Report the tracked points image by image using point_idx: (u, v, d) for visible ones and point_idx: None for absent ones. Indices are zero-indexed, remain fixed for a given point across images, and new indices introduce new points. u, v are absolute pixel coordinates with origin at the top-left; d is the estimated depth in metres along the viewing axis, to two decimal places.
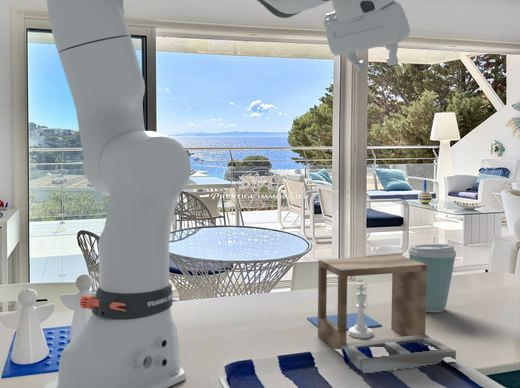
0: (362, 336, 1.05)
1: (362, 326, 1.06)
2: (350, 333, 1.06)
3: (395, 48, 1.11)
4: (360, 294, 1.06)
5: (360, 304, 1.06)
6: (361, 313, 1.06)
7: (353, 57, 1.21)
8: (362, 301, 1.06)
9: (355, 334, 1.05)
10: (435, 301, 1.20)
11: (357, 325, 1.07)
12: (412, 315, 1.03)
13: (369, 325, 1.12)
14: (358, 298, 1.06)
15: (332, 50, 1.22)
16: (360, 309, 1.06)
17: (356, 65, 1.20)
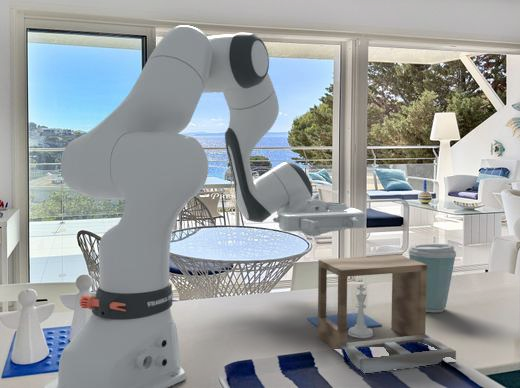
0: (362, 336, 1.05)
1: (362, 326, 1.06)
2: (350, 333, 1.06)
3: None
4: (360, 294, 1.06)
5: (360, 304, 1.06)
6: (361, 313, 1.06)
7: None
8: (362, 301, 1.06)
9: (355, 334, 1.05)
10: (435, 301, 1.20)
11: (357, 325, 1.07)
12: (412, 315, 1.03)
13: (369, 325, 1.12)
14: (358, 298, 1.06)
15: (286, 214, 1.20)
16: (360, 309, 1.06)
17: (313, 221, 1.17)
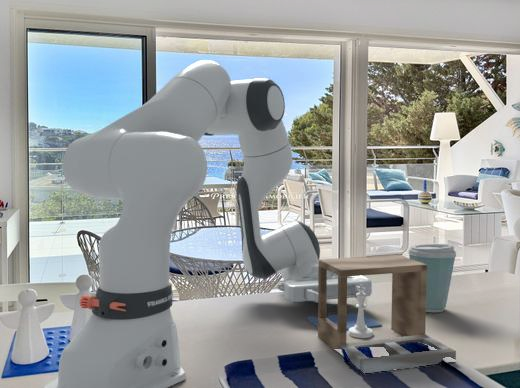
0: (362, 336, 1.05)
1: (362, 326, 1.06)
2: (350, 333, 1.06)
3: None
4: (360, 294, 1.06)
5: (360, 304, 1.06)
6: (361, 313, 1.06)
7: None
8: (362, 301, 1.06)
9: (355, 334, 1.05)
10: (435, 301, 1.20)
11: (357, 325, 1.07)
12: (412, 315, 1.03)
13: (369, 325, 1.12)
14: (358, 298, 1.06)
15: (291, 284, 1.18)
16: (360, 309, 1.06)
17: None
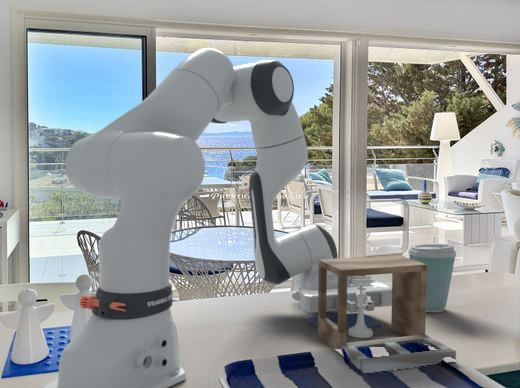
0: (362, 336, 1.05)
1: (362, 326, 1.06)
2: (350, 333, 1.06)
3: None
4: (360, 294, 1.06)
5: (360, 304, 1.06)
6: (361, 313, 1.06)
7: None
8: (362, 301, 1.06)
9: (355, 334, 1.05)
10: (435, 301, 1.20)
11: (357, 325, 1.07)
12: (412, 315, 1.03)
13: (369, 325, 1.12)
14: (358, 298, 1.06)
15: (307, 294, 1.09)
16: (360, 309, 1.06)
17: (352, 302, 1.07)
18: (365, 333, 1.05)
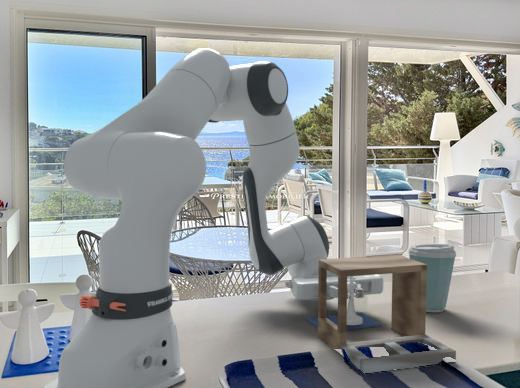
0: (352, 323, 1.09)
1: (352, 314, 1.10)
2: None
3: None
4: (350, 283, 1.10)
5: (350, 293, 1.10)
6: (351, 301, 1.11)
7: None
8: (352, 290, 1.10)
9: None
10: (435, 301, 1.20)
11: (347, 313, 1.11)
12: (412, 315, 1.03)
13: (369, 325, 1.12)
14: (348, 287, 1.10)
15: (300, 282, 1.13)
16: (350, 297, 1.11)
17: None
18: (355, 320, 1.09)
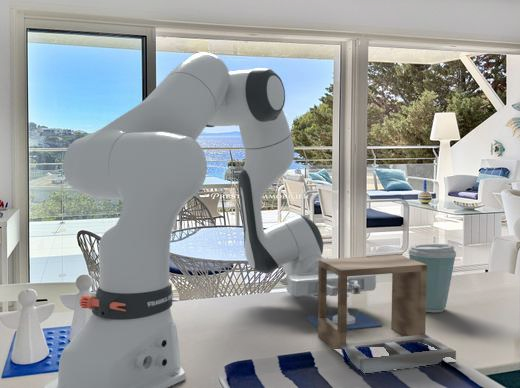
0: None
1: None
2: (334, 320, 1.13)
3: None
4: None
5: None
6: None
7: None
8: None
9: None
10: (435, 301, 1.20)
11: None
12: (412, 315, 1.03)
13: (369, 325, 1.12)
14: None
15: (294, 279, 1.16)
16: None
17: (331, 286, 1.14)
18: (348, 320, 1.12)
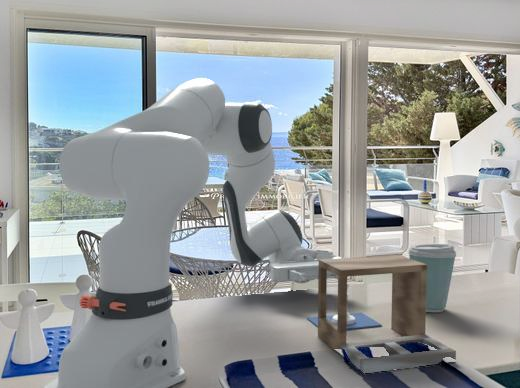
0: None
1: None
2: (334, 320, 1.13)
3: None
4: None
5: None
6: None
7: None
8: None
9: None
10: (435, 301, 1.20)
11: None
12: (412, 315, 1.03)
13: (369, 325, 1.12)
14: None
15: (276, 266, 1.28)
16: None
17: (301, 273, 1.25)
18: (348, 320, 1.12)
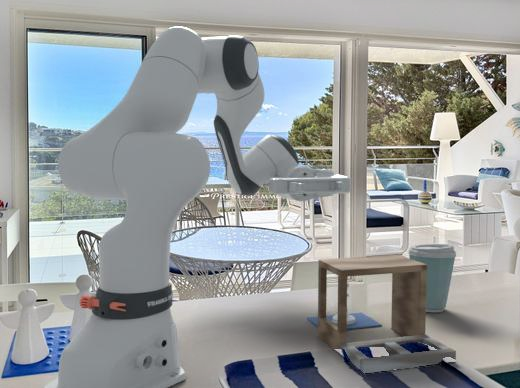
0: None
1: None
2: (334, 320, 1.13)
3: None
4: None
5: None
6: None
7: None
8: None
9: None
10: (435, 301, 1.20)
11: None
12: (412, 315, 1.03)
13: (369, 325, 1.12)
14: None
15: (275, 178, 1.27)
16: None
17: None
18: (348, 320, 1.12)
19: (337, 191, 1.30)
